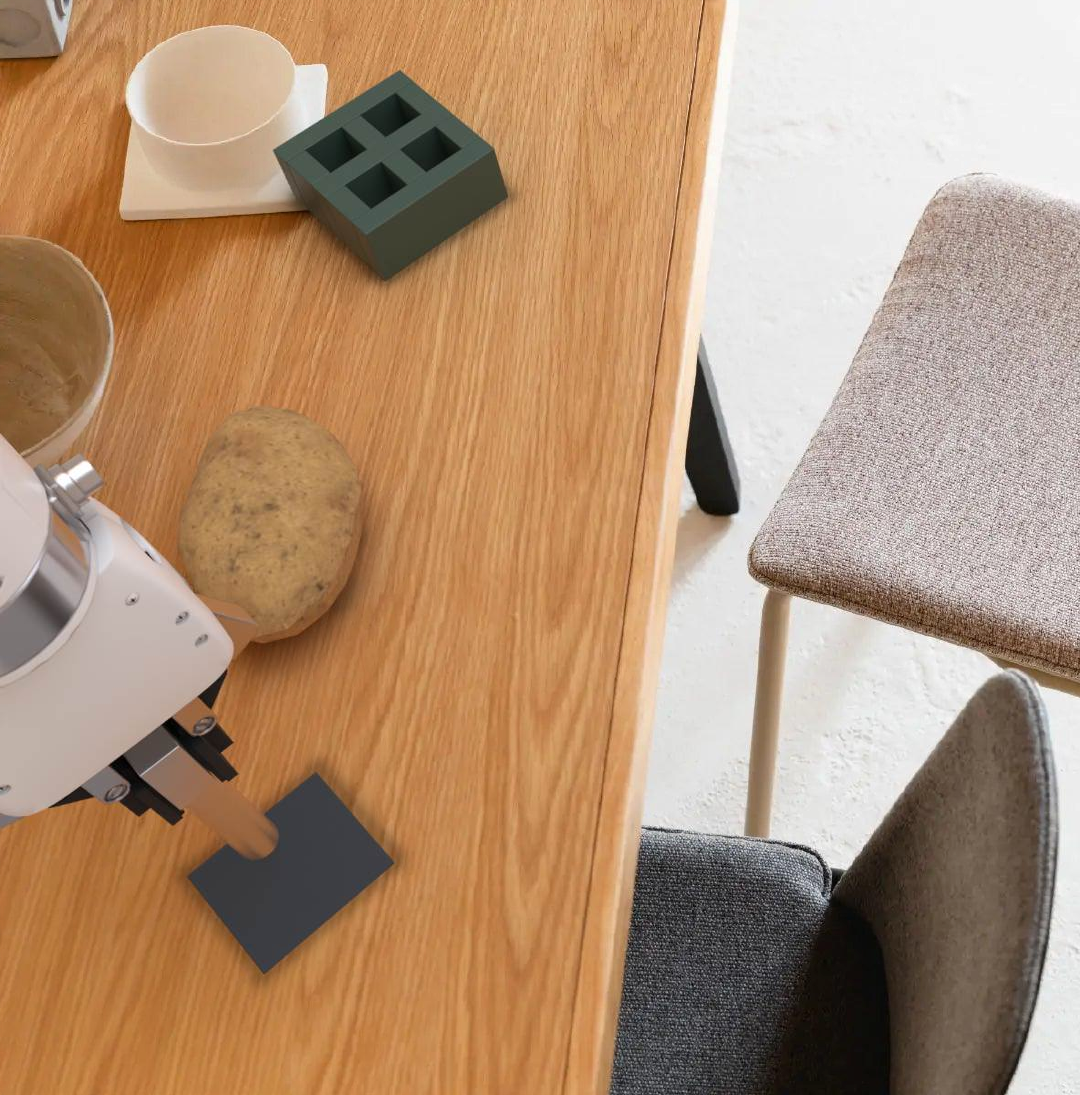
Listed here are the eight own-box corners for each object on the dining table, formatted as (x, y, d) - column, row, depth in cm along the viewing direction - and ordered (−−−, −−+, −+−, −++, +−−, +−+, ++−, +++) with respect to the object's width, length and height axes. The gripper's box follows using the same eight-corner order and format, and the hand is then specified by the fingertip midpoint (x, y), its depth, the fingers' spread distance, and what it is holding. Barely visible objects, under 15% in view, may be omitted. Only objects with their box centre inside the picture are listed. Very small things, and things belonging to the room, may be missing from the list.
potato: (200, 686, 81) (138, 621, 74) (222, 472, 87) (167, 394, 80) (378, 666, 81) (334, 600, 74) (386, 455, 88) (346, 376, 81)
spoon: (217, 825, 71) (84, 711, 58) (252, 797, 71) (127, 679, 59) (264, 883, 69) (137, 778, 57) (299, 854, 70) (181, 744, 58)
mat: (190, 879, 75) (186, 876, 75) (319, 775, 78) (315, 771, 77) (268, 977, 73) (263, 974, 72) (397, 866, 75) (394, 862, 75)
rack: (297, 203, 98) (272, 149, 93) (419, 125, 101) (399, 69, 97) (387, 287, 94) (365, 234, 90) (510, 202, 98) (494, 148, 93)
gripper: (114, 364, 51) (292, 605, 67) (-331, 657, 46) (-22, 844, 62) (234, 493, 48) (389, 713, 64) (-224, 821, 43) (70, 971, 59)
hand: (186, 776), depth 63 cm, fingers closed on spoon, 2 cm apart
